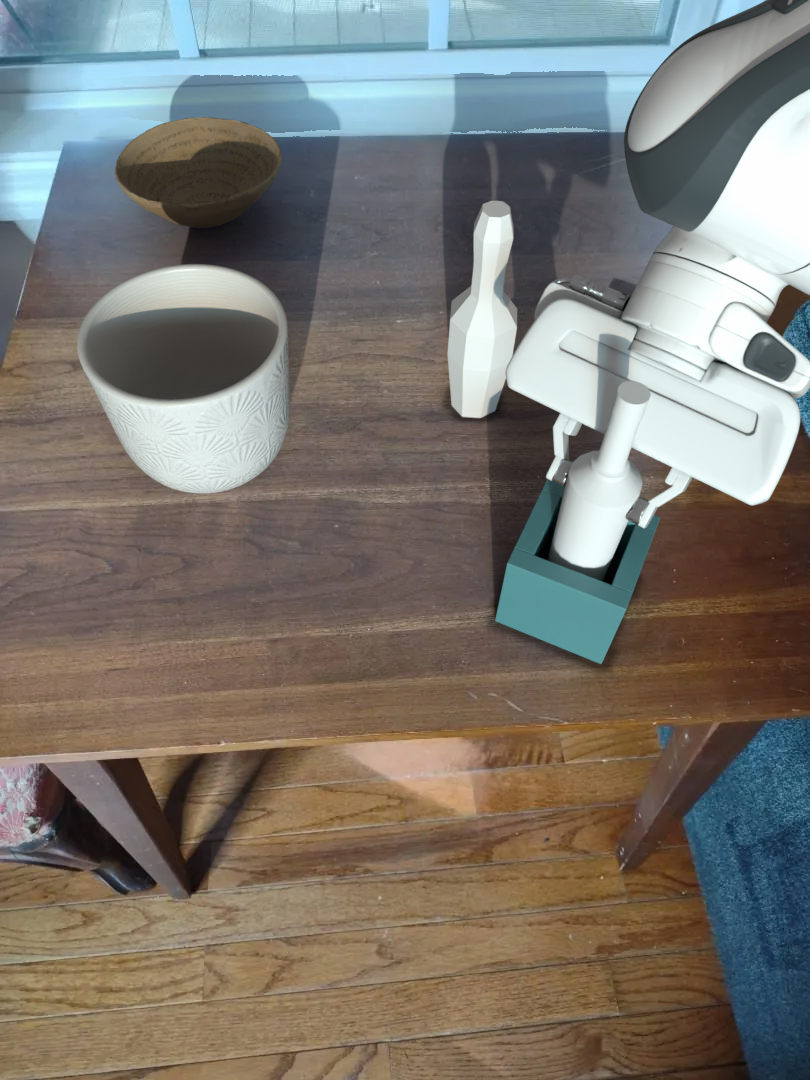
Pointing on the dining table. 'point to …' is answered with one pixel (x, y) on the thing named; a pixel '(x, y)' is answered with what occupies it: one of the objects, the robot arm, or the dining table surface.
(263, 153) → the bowl
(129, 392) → the planter
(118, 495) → the dining table surface
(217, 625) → the dining table surface
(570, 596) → the holster
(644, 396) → the bottle
